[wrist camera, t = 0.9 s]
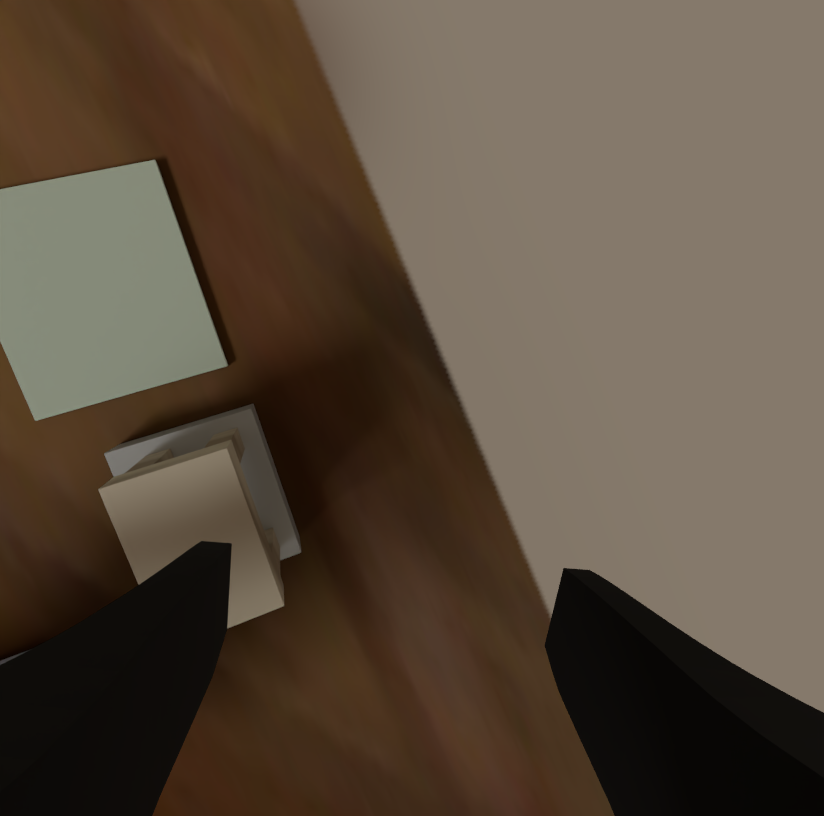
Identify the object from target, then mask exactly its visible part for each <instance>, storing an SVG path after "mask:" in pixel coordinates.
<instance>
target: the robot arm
mask: <svg viewBox="0 0 824 816" xmlns="http://www.w3.org/2000/svg"><path fill="white" fill-rule="evenodd" d="M231 550H232V543H222V542H209V541H200V542H199V543H197V544H196V545H194V546H193V547H192V548H190V549H189V550H187V551H186V552H185V553H183V554H182V555H180V556H179V557H178V558H176V559H175V560H174V561H172V562H171V563H169V564H168V565H167V566H165V567H164V568H162V569H161V570H160V571H158V572H157V573H155V574H154V575H152V576H151V577H149V578H148V579H147V580H145V581H144V582H142V583H141V584H139V585H138V586H136V587H135V588H134V589H132V590H131V591H129V592H128V593H126V594H124V595H123V596H121V597H120V598H118V599H116V600H115V601H113V602H112V603H110V604H108V605H107V606H105V607H104V608H102V609H100V610H99V611H97V612H96V613H94V614H93V615H91V616H89V617H88V618H86V619H85V620H83V621H81V622H80V623H78V624H76V625H75V626H73V627H71V628H69V629H68V630H66V631H64V632H62V633H60V634H59V635H57V636H55V637H53V638H51V639H50V640H48V641H46V642H44V643H42V644H40V645H38V646H36V647H34V648H32V649H30V650H28V651H25V652H22V653H20V654H17V655H14V656H12V657H9V658H6V659H4V660H1V661H0V816H152V815H153V812H154V810H155V807H156V805H157V802H158V800H159V797H160V795H161V792H162V790H163V788H164V786H165V783H166V781H167V779H168V777H169V774H170V772H171V770H172V767H173V765H174V763H175V761H176V758H177V756H178V754H179V752H180V749H181V747H182V745H183V743H184V740H185V738H186V736H187V733H188V731H189V729H190V727H191V724H192V722H193V720H194V718H195V715H196V713H197V711H198V708H199V706H200V704H201V702H202V699H203V697H204V695H205V692H206V690H207V688H208V685H209V683H210V681H211V678H212V676H213V673H214V670H215V667H216V663H217V660H218V657H219V654H220V651H221V647H222V644H223V641H224V637H225V634H226V631H227V624H228V606H229V587H230V569H231ZM545 648H546V651H547V655H548V658H549V662H550V665H551V669H552V672H553V675H554V678H555V681H556V684H557V687H558V690H559V693H560V695H561V697H562V700H563V702H564V704H565V706H566V709H567V711H568V713H569V715H570V718H571V720H572V722H573V724H574V727H575V729H576V731H577V733H578V735H579V737H580V740H581V742H582V744H583V746H584V748H585V751H586V753H587V755H588V757H589V759H590V761H591V764H592V766H593V768H594V770H595V772H596V775H597V777H598V779H599V781H600V783H601V785H602V788H603V790H604V792H605V794H606V796H607V798H608V801H609V803H610V805H611V808H612V810H613V813H614V815H615V816H824V713H823V712H821V711H819V710H817V709H815V708H813V707H811V706H809V705H807V704H805V703H803V702H801V701H799V700H797V699H795V698H794V697H792V696H790V695H788V694H786V693H785V692H783V691H781V690H779V689H777V688H775V687H774V686H771V685H770V684H768V683H766V682H765V681H763V680H761V679H759V678H757V677H755V676H754V675H752V674H750V673H748V672H747V671H745V670H743V669H741V668H740V667H738V666H736V665H735V664H733V663H731V662H730V661H728V660H727V659H725V658H723V657H722V656H720V655H718V654H717V653H715V652H713V651H712V650H711V649H709V648H707V647H706V646H704V645H702V644H701V643H699V642H698V641H696V640H695V639H693V638H692V637H690V636H689V635H687V634H685V633H684V632H683V631H681V630H680V629H678V628H677V627H675V626H674V625H672V624H671V623H669V622H667V621H666V620H665V619H663V618H662V617H660V616H659V615H657V614H656V613H654V612H653V611H652V610H650V609H648V608H647V607H646V606H644V605H643V604H641V603H640V602H638V601H637V600H636V599H634V598H633V597H631V596H630V595H628V594H627V593H625V592H624V591H622V590H620V589H619V588H618V587H616V586H615V585H613V584H612V583H610V582H609V581H607V580H606V579H604V578H602V577H601V576H599V575H597V574H596V573H594V572H592V571H590V570H580V569H567V568H564V569H563V573H562V577H561V582H560V585H559V589H558V593H557V597H556V601H555V606H554V610H553V614H552V618H551V622H550V626H549V630H548V634H547V638H546V642H545Z"/></svg>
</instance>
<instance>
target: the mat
mask: <svg viewBox="0 0 824 816" xmlns="http://www.w3.org/2000/svg"><path fill="white" fill-rule="evenodd" d="M0 342H1V344H2V346H3V348H4V351H5V353H6V355H7V358H8V360H9V362H10V364H11V367H12V369H13V371H14V373H15V376H16V378H17V380H18V383H19V385H20V387H21V389H22V392H23V394H24V396H25V399H26V401H27V403H28V405H29V408H30V410H31V412H32V415H33V417H34V419H35V421H37V420H40V419H44V418H47V417H51V416H54V415H58V414H61V413H65V412H68V411H72V410H75V409H79V408H82V407H86V406H89V405H93V404H96V403H100V402H103V401H107V400H110V399H114V398H117V397H121V396H124V395H128V394H131V393H135V392H138V391H142V390H145V389H149V388H152V387H156V386H159V385H163V384H166V383H170V382H173V381H177V380H180V379H184V378H187V377H191V376H195V375H198V374H202V373H205V372H209V371H212V370H216V369H219V368H223V367H226V366H228V363H227V360H226V357H225V355H224V352H223V349H222V346H221V343H220V340H219V337H218V335H217V332H216V329H215V326H214V323H213V320H212V318H211V315H210V312H209V309H208V306H207V303H206V300H205V298H204V295H203V292H202V289H201V286H200V283H199V281H198V278H197V275H196V272H195V269H194V266H193V264H192V261H191V258H190V255H189V252H188V249H187V246H186V244H185V241H184V238H183V235H182V232H181V229H180V227H179V224H178V221H177V218H176V215H175V212H174V209H173V207H172V204H171V201H170V198H169V195H168V192H167V190H166V187H165V184H164V181H163V178H162V175H161V172H160V170H159V167H158V164H157V162H156V161H155V160H151V161H146V162H140V163H135V164H130V165H125V166H120V167H114V168H109V169H104V170H99V171H93V172H88V173H83V174H78V175H72V176H67V177H62V178H57V179H51V180H46V181H41V182H36V183H30V184H25V185H20V186H15V187H10V188H4V189H0Z"/></svg>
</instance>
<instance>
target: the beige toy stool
mask: <svg viewBox="0 0 824 816" xmlns="http://www.w3.org/2000/svg"><path fill="white" fill-rule="evenodd" d="M244 450H245V448H244V445H243V442H242V439H241V436H240V434H239V431H238V428H234V429H231V430H227V431H224V432H221V433H218V434H215V435H213V437H212V438H211V439H210V441H209V442H208V443H207V445H206V446H205V447H204V448H203V449H200V450H197V451H194V452H190V453H187V454H184V455H181V456H178V457H175V458H174V457H173V454H172V451H171V449H167V450H163V451H160V452H157V453H154V454H151V455H147V456H145V457H144V458H143V459H141V460H140V461H139V462H138V463H136V464H135V465H134V466H133V467H132V468H130V469H129V470H128V471H127V472H126V473H124V474H121V475H118V476H115V477H113V478H112V479H111V480H109V481H108V482H107V483H106V484H104V485H103V486H102V487H101V488H99V489H98V490H99V493H100V495H101V497H102V500H103V502H104V505H105V507H106V509H107V512H108V514H109V516H110V519H111V521H112V523H113V526H114V528H115V530H116V533H117V535H118V538H119V540H120V542H121V545H122V547H123V549H124V552H125V554H126V556H127V559H128V561H129V563H130V566H131V568H132V570H133V573H134V575H135V578H136V580H137V582H138V585H139V584H141V583H142V582H144V581H145V580H147V579H148V578H149V577H151V576H152V575H154V574H155V573H157V572H158V571H160V570H161V569H162V568H164V567H165V566H167V565H168V564H169V563H171V562H172V561H174V560H175V559H176V558H178V557H179V556H180V555H182V554H183V553H185V552H186V551H187V550H189V549H190V548H192V547H193V546H194V545H196V544H197V543H199V542H200V541H209V542H222V543H232V550H231V569H230V587H229V606H228V624H227V629H228V628H230V627H233V626H235V625H238V624H240V623H243V622H245V621H248V620H250V619H253V618H255V617H258V616H260V615H263V614H265V613H268V612H270V611H273V610H275V609H278V608H280V607H283V606H284V584H283V582H282V579H281V576H280V546H279V543H278V540H277V537H276V535H275V532H274V529H273V528H270V529H267V530H265V531H264V529H263V526H262V523H261V521H260V518H259V515H258V512H257V510H256V507H255V504H254V501H253V498H252V496H251V493H250V490H249V487H248V485H247V482H246V479H245V476H244V474H243V471H242V468H241V465H240V463H241V460H242V457H243V453H244Z"/></svg>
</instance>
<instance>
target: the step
mask: <svg viewBox="0 0 824 816" xmlns="http://www.w3.org/2000/svg"><path fill="white" fill-rule="evenodd" d="M234 428H238V431H239V434H240V436H241V439H242V442H243V445H244V448H245V450H244V453H243V457H242V460H241V463H240V465H241V468H242V471H243V474H244V476H245V479H246V482H247V485H248V487H249V490H250V493H251V496H252V498H253V501H254V504H255V507H256V510H257V512H258V515H259V518H260V521H261V523H262V526H263V529H264V531H265V530H267V529H270V528H273V529H274V532H275V535H276V537H277V540H278V543H279V546H280V560H283V559H286V558H288V557H291V556H294V555H296V554H299V553H301V545H300V536H299V533H298V531H297V528H296V525H295V522H294V519H293V516H292V513H291V510H290V507H289V505H288V502H287V499H286V496H285V493H284V490H283V487H282V484H281V482H280V479H279V476H278V473H277V470H276V467H275V464H274V461H273V458H272V456H271V453H270V450H269V447H268V444H267V441H266V438H265V435H264V432H263V430H262V427H261V424H260V421H259V418H258V415H257V412H256V409H255V407H254V404H250V405H247V406H244V407H240V408H237V409H234V410H230V411H227V412H224V413H221V414H217V415H214V416H211V417H207V418H204V419H201V420H198V421H194V422H191V423H188V424H184V425H181V426H178V427H175V428H171V429H168V430H165V431H161V432H158V433H155V434H152V435H148V436H145V437H142V438H138V439H135V440H132V441H129V442H125V443H122V444H119V445H117V446H116V447H114V448H112V449H111V450H109V451H108V452H106V453H104V455H105V457H106V460H107V462H108V464H109V467H110V469H111V472H112V474H113V476H114V477H115V476H118V475H121V474H124V473H126V472H127V471H128V470H129V469H130V468H132V467H133V466H134V465H135V464H136V463H138V462H139V461H140V460H141V459H143V458H144V457H145V456H147V455H151V454H154V453H157V452H160V451H163V450H167V449H171V451H172V454H173V457H174V458H175V457H178V456H181V455H184V454H187V453H190V452H194V451H197V450H200V449H203V448H204V447H205V446H206V445H207V443H208V442H209V441H210V439H211V438H212V437H213V435H215V434H218V433H221V432H224V431H227V430H231V429H234Z"/></svg>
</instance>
